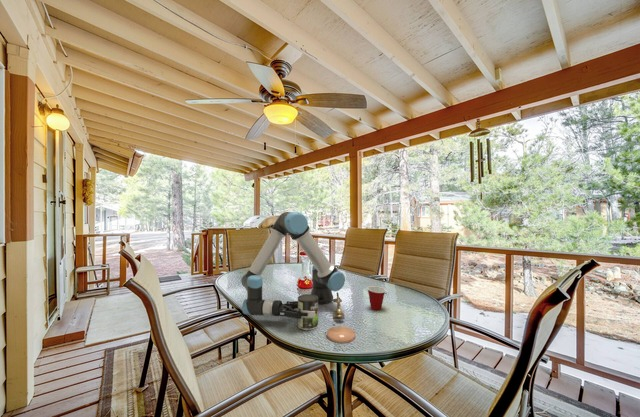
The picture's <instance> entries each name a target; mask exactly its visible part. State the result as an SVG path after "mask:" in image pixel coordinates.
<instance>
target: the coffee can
mask: <svg viewBox="0 0 640 417" xmlns="http://www.w3.org/2000/svg"><path fill="white" fill-rule="evenodd" d="M297 301H298V309H297V310H298V311H302V310H303V311H315V317H301V319H297V327H298V328H299V329H301V330H304V331H312V330H315V329H317V328H318V327H319V304H318V296H316V295H312V294H311V293H307V294H306V293H305V294H301V295H299V296H297Z"/></svg>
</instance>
